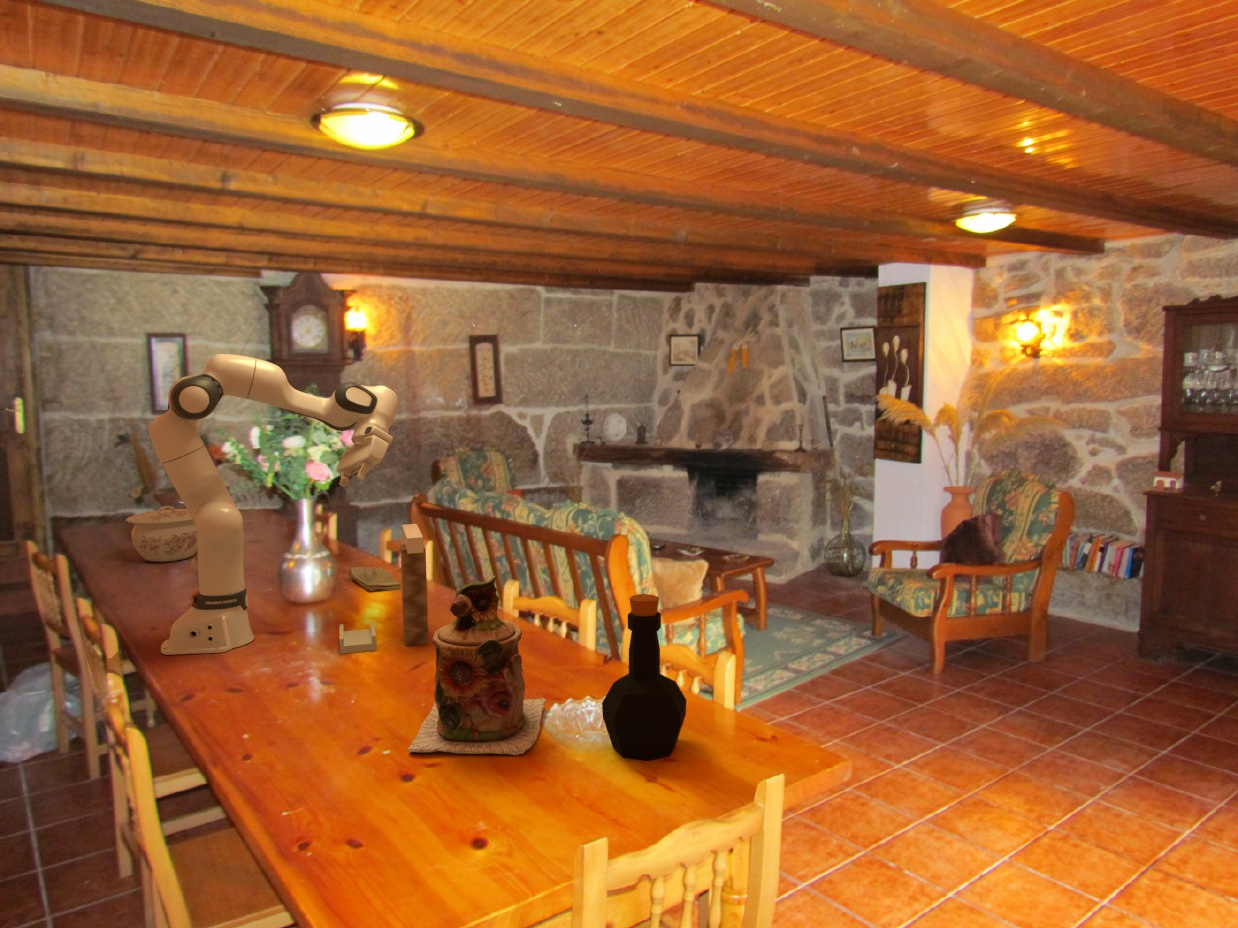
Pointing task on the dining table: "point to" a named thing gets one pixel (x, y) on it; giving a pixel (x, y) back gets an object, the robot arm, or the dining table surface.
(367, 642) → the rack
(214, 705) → the dining table surface
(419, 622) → the plinth
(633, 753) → the bottle
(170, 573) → the dining table surface
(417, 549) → the beige rectangular bar
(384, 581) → the stone slab
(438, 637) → the cookie jar
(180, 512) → the chamber pot
